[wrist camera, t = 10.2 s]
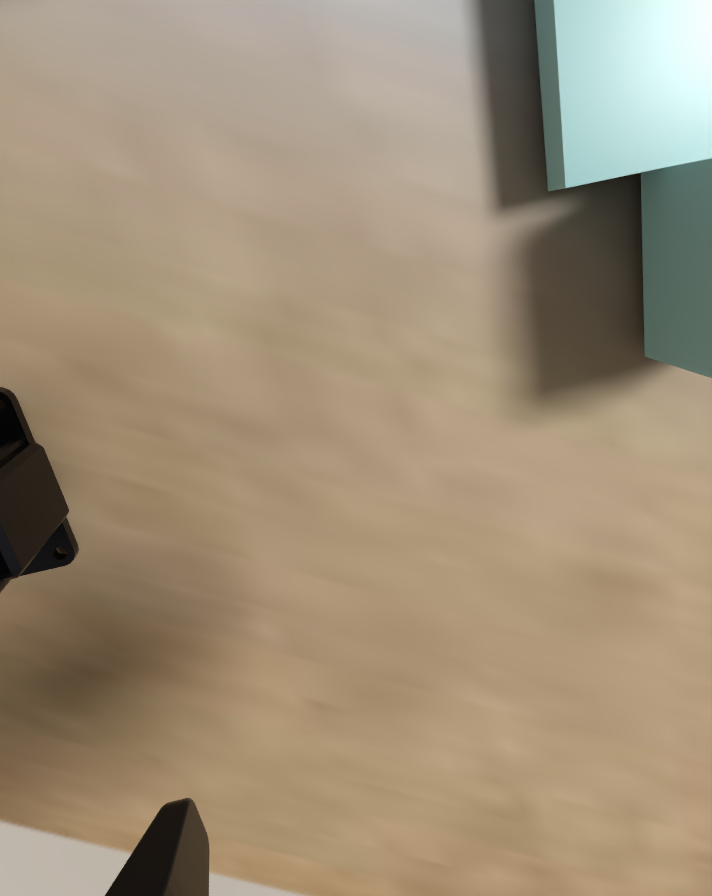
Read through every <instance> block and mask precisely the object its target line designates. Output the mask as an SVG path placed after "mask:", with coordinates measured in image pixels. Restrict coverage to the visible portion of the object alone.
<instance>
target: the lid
mask: <svg viewBox="0 0 712 896" xmlns="http://www.w3.org/2000/svg"><path fill="white" fill-rule="evenodd" d="M534 3H535V16H536V30H537V44H538V58H539V71H540V85H541V99H542V113H543V126H544V140H545V154H546V168H547V182H548V191H553V190H559V189H564V188H569V187H574V186H579V185H583V184H588V183H593V182H598V181H602V180H607V179H612V178H617V177H621V176H626V175H631V174H636V173H641V204H642V252H643V299H644V347H645V357H647V358H651V359H654V360H657V361H660V362H663V363H666V364H669V365H673V366H676V367H679V368H682V369H685V370H688V371H691V372H695V373H698V374H701V375H704V376H707V377H710V378H712V0H534Z"/></svg>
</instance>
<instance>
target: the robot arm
mask: <svg viewBox="0 0 712 896" xmlns="http://www.w3.org/2000/svg"><path fill="white" fill-rule="evenodd" d="M0 400H2V401H3V403H4V406H5V408H4V410H0V593H1V591H2V590H3V589H4V588H5V586H6V585H7V584H8V583H9V581H10V580H11V579H14V578H17V577H19V576H22V575H27V574H31V573H35V572H40V571H44V570H49V569H53V568H57V567H62V566H66V565H68V564H70V563H71V562H72V561H73V560H74V558H75V557H76V555H77V553H78V550H79V549H78V544H77V542H76V539H75V537H74V534H73V532H72V530H71V527H70V525H69V522H68V520H67V518H66V516H67V514H68V512H69V509H68V506H67V504H66V501H65V499H64V496H63V494H62V491H61V489H60V487H59V484H58V482H57V479H56V477H55V474H54V472H53V470H52V467H51V465H50V462H49V460H48V457H47V455H46V453H45V450H44V448H43V447H42V446H41V445H39V444H38V443H36V442H35V441H34V438H33V436H32V433H31V431H30V429H29V426H28V424H27V421H26V419H25V417H24V414H23V412H22V409H21V407H20V404H19V402H18V400H17V398H16V396H15V395H14V393H12V392H11V391H10V390H8V389H6V388H3V387H0ZM57 547H62V548H64V549H65V550H66V551H67V554H61V553H59V552H58V551H57V549H56V548H57ZM105 896H209V841H208V836H207V832H206V830H205V827H204V825H203V822H202V820H201V818H200V815H199V813H198V810H197V808H196V805H195V803H194V801H193V800H192V799H190V798H185V799H181V800H177V801H173V802H169V803H166V804H165V805H164V806H163V807H162V808H161V809H160V810H159V812H158V814H157V815H156V817H155V818H154V820H153V821H152V823H151V825H150V826H149V828H148V829H147V831H146V832H145V834H144V835H143V837H142V839H141V840H140V842H139V843H138V845H137V846H136V848H135V849H134V851H133V853H132V854H131V856H130V857H129V859H128V860H127V862H126V864H125V865H124V867H123V868H122V870H121V871H120V873H119V874H118V876H117V878H116V879H115V881H114V882H113V884H112V886H111V887H110V889H109V890H108V892H107V893H106V895H105Z"/></svg>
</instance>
